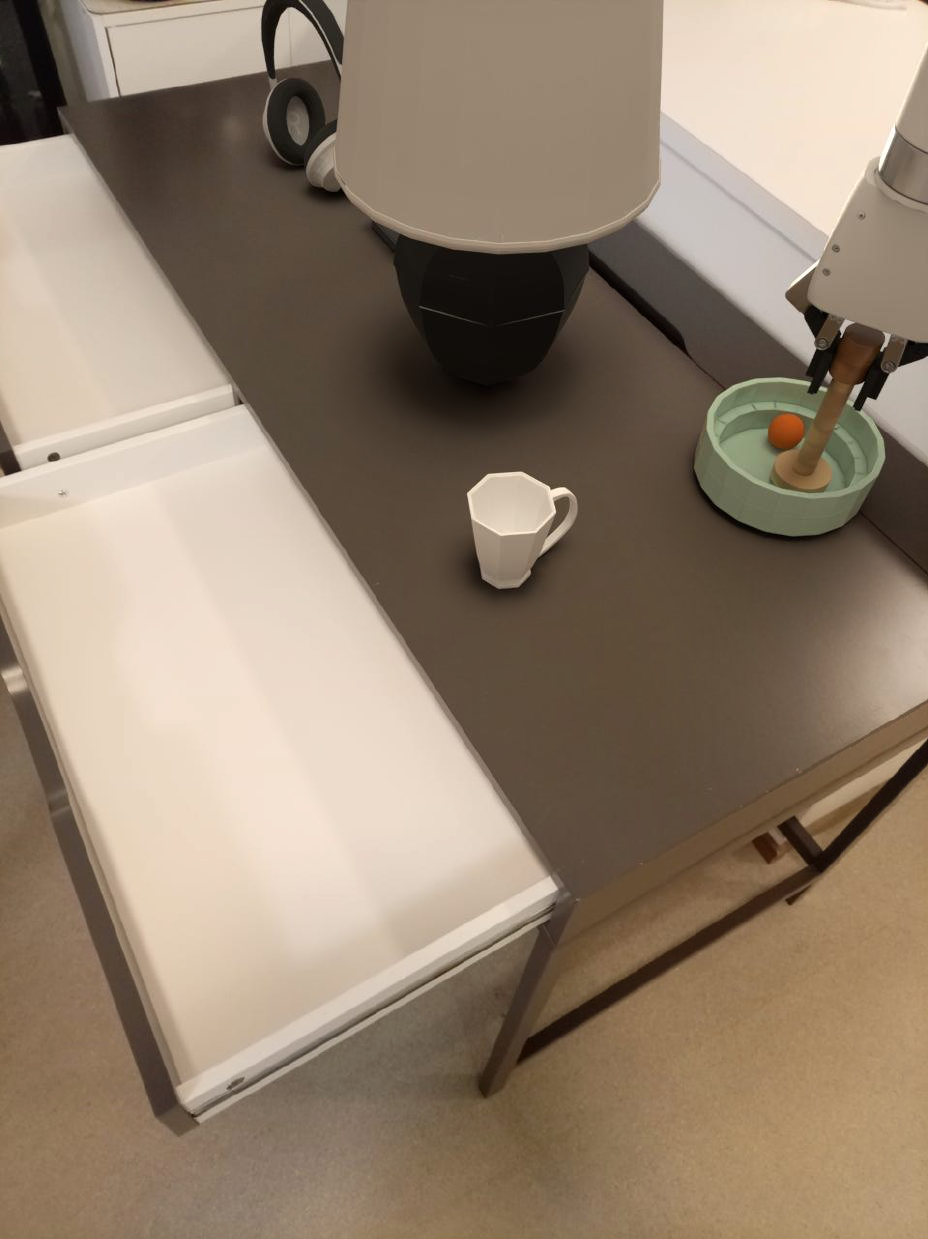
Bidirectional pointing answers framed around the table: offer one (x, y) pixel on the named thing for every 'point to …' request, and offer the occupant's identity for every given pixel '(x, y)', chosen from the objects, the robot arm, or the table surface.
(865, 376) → the brown long flanged bar
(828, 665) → the table surface
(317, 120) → the headphones
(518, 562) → the cup
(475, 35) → the table lamp
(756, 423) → the bowl
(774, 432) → the ball
